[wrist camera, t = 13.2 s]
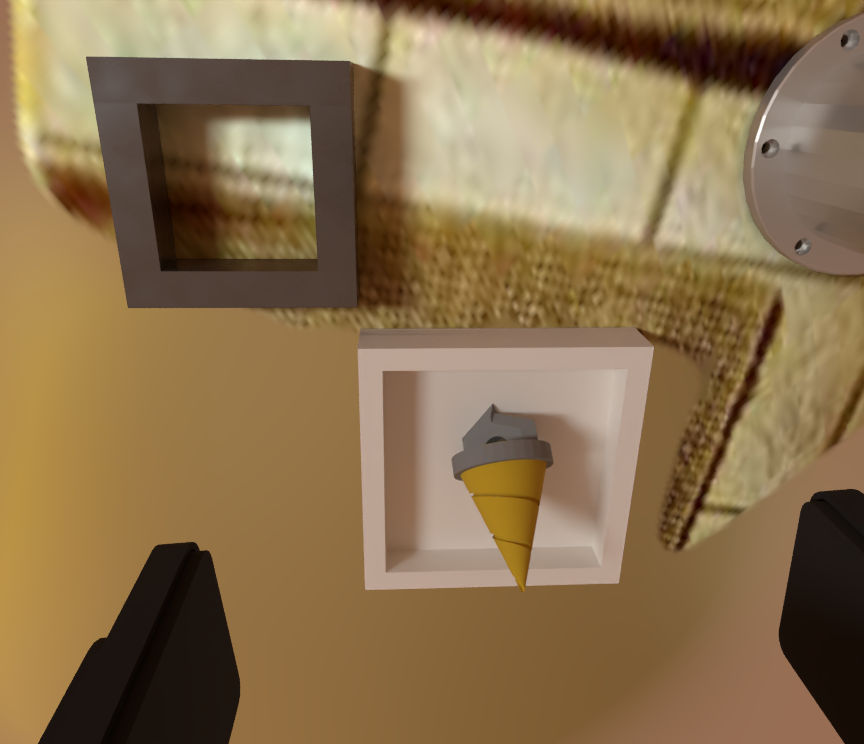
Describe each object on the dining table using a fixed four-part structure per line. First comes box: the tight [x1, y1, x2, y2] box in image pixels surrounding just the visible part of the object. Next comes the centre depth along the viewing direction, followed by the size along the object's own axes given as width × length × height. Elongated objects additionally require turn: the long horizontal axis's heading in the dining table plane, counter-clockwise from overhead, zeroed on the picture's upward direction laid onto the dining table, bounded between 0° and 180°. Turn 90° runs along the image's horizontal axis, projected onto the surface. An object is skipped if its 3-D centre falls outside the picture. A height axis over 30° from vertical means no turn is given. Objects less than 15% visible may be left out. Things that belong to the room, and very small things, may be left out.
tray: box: [358, 328, 654, 590], centre depth 38 cm, size 15×15×3 cm
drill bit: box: [452, 404, 553, 592], centre depth 36 cm, size 5×5×10 cm
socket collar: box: [86, 57, 359, 308], centre depth 32 cm, size 11×11×2 cm
